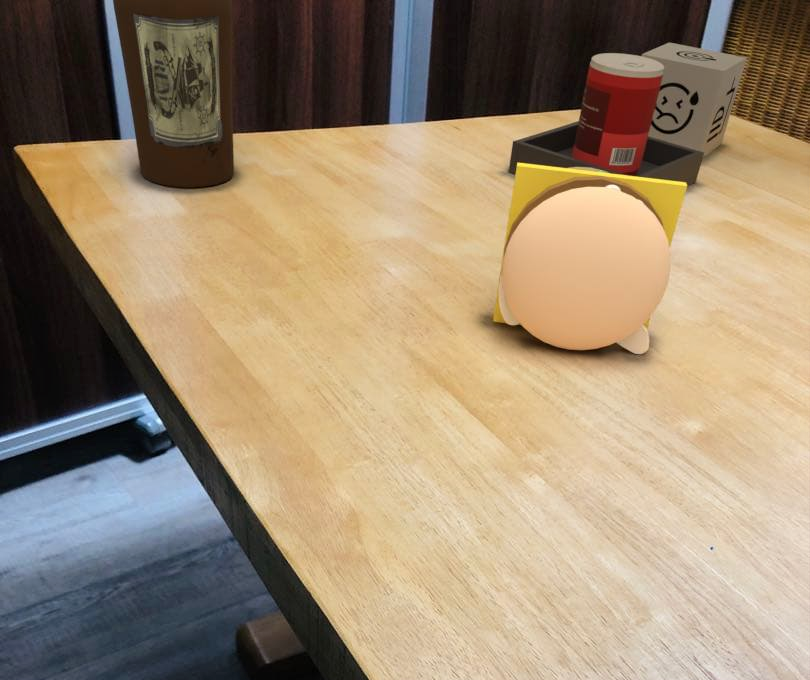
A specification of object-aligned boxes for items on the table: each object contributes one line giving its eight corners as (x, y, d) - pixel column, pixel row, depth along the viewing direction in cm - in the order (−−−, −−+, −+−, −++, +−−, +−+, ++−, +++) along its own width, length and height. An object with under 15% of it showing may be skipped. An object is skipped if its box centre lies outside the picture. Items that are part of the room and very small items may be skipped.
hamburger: (489, 353, 65) (514, 191, 57) (494, 305, 71) (518, 152, 63) (649, 374, 64) (697, 212, 56) (640, 323, 71) (682, 172, 63)
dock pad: (695, 182, 100) (704, 152, 97) (629, 213, 90) (636, 180, 88) (581, 146, 107) (586, 118, 104) (508, 172, 97) (512, 141, 95)
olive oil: (133, 156, 92) (95, -143, 75) (233, 155, 94) (218, -134, 78) (136, 192, 84) (95, -132, 68) (246, 190, 87) (232, -122, 70)
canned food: (648, 170, 99) (675, 63, 92) (621, 186, 94) (647, 74, 87) (588, 153, 102) (610, 49, 95) (558, 169, 97) (578, 59, 90)
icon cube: (721, 143, 112) (747, 57, 106) (698, 161, 106) (723, 71, 99) (648, 126, 116) (669, 42, 109) (621, 142, 109) (642, 54, 103)
